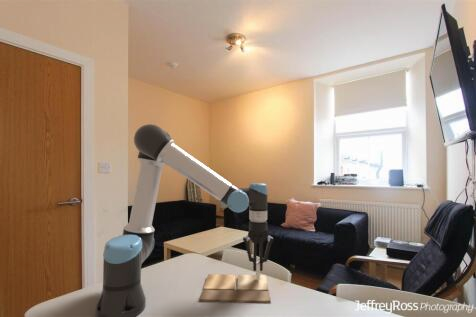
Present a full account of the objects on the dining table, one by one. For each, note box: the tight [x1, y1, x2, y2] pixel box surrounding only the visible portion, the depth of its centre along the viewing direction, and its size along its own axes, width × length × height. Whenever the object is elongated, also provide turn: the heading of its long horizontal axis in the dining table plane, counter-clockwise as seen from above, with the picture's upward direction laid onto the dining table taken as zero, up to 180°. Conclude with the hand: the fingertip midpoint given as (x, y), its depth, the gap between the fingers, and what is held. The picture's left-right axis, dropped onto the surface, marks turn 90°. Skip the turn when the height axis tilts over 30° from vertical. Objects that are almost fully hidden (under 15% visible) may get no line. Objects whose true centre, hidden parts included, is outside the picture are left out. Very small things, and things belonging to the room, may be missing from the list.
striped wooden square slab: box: [202, 273, 237, 291], centre depth 100 cm, size 12×12×2 cm
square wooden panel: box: [236, 274, 270, 292], centre depth 99 cm, size 12×12×2 cm
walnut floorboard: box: [199, 289, 272, 304], centre depth 89 cm, size 25×8×2 cm, turn 88°
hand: (257, 278), depth 100 cm, fingers closed
